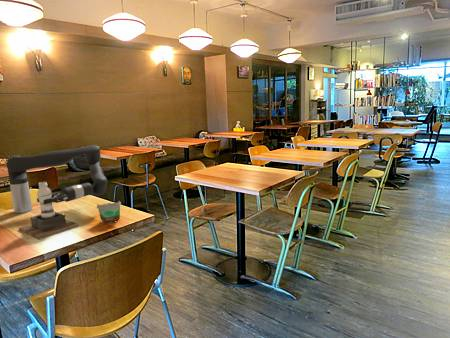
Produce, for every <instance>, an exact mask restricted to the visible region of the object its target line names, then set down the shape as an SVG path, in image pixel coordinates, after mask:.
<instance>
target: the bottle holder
mask: <svg viewBox="0 0 450 338" xmlns="http://www.w3.org/2000/svg"><path fill="white" fill-rule="evenodd" d="M54 212H55V217H53V218H50V219H47V220H42V219H41V214H38V215H34V216H31V217H30V223H29V224H26V225H21V226H19V227H18V231H21V232H23V233H25V234H27V235H29V236H31V237H34V238H35V239H38V240H42V239H45V238H48V237H50V236H53V235H56V234H60V233H62V232H65V231H69V230H71V229H74V228H77V227H80V223H79V222H75V221H72V220H70V219H68V218H66V215H65V214H63V213H61V212H57V211H54Z"/></svg>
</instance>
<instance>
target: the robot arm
mask: <svg viewBox="0 0 450 338" xmlns="http://www.w3.org/2000/svg"><path fill="white" fill-rule="evenodd" d="M80 156H84V159H85V161H86V164H87V165H88V167H89V171H90V176H91V181H93V186H92V184H91V183H90V182H84V183H81V184H79V183H78V184H73V185H69V186H67V187H62V188H61V189H60V192H59V191H56V192H55V191H53V192H52V191H51V192H52V199H51V198H49V199H46V200H43V202H44V204H49V203H52V204H54V203H55V204H58V203H61V202H70V201H75V200H78V199H81V198H84V197H86V196H87V197H88V196H101V195H103V194H105V192H106V190H107V185H108V178H107V177H106V176H105V173H104V170H103V168H102V167H101V148H100V146H98V145H95V144H91V145H86V146H84V145H83V146H80V147H75V148H71V149H70V148H68V149H61V150H52V151H46V152H43V153H40V154H35V155H29V156H27V155H26V156H21V155H19V154H13V155H10V156H9V157H8V158H7V160H6V164H5V165H6V166H5V167H6V168H7V173H8V182H9V186H10V187H9V188H10V193H11V200H12V206H13V212H14V213H16V214H23V213H24V214H25V213H28V212H31V211H32V210H33V205H32V200H31V199H32V198H31V193H30V187H29V179H28V172H27V171H28V170H33V169H41V168H53V167H59V166H65V165H66V164H68V163H70V162H72V161H73V160H74V159H75V158H78V157H80ZM36 201H37V203H40V202H39V199H38V197H37V198H36Z"/></svg>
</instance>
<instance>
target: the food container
mask: <svg viewBox="0 0 450 338" xmlns="http://www.w3.org/2000/svg"><path fill="white" fill-rule="evenodd" d="M121 206H122V203H121V201H120V200H118V202H108V203H107V202H106V203H104V204H97V205H96V209H98V213H99V217H100V221H102V222H103V224H111V223H110V222H114V223H116V222H115V221H117V222H119V221H120V220H121ZM119 219H120V220H119ZM118 220H119V221H118ZM102 222H101V223H102Z"/></svg>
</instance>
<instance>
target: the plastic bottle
mask: <svg viewBox="0 0 450 338" xmlns="http://www.w3.org/2000/svg"><path fill="white" fill-rule="evenodd" d="M36 195H37V198H38V199H39V202H38V203H39V206H40V215H41V219H42V220H47V219H50V218H53V217H55V212H56V211H55V210H54V206H53V203H49V204H44V202H43V200H46V199H49V198H51V199H52V190H51V189H50V187H48V183H47V181H40V182H38V189H37V192H36Z"/></svg>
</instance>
